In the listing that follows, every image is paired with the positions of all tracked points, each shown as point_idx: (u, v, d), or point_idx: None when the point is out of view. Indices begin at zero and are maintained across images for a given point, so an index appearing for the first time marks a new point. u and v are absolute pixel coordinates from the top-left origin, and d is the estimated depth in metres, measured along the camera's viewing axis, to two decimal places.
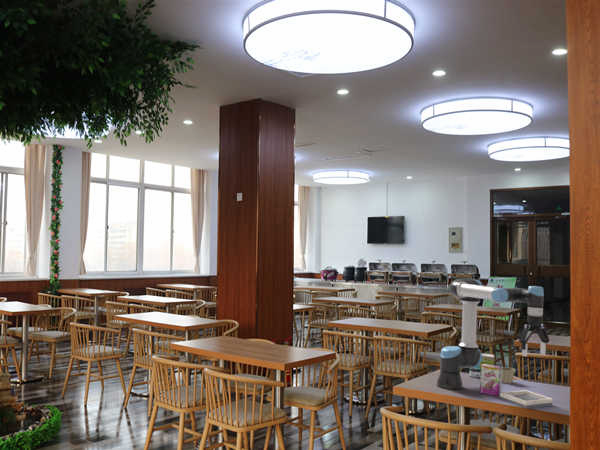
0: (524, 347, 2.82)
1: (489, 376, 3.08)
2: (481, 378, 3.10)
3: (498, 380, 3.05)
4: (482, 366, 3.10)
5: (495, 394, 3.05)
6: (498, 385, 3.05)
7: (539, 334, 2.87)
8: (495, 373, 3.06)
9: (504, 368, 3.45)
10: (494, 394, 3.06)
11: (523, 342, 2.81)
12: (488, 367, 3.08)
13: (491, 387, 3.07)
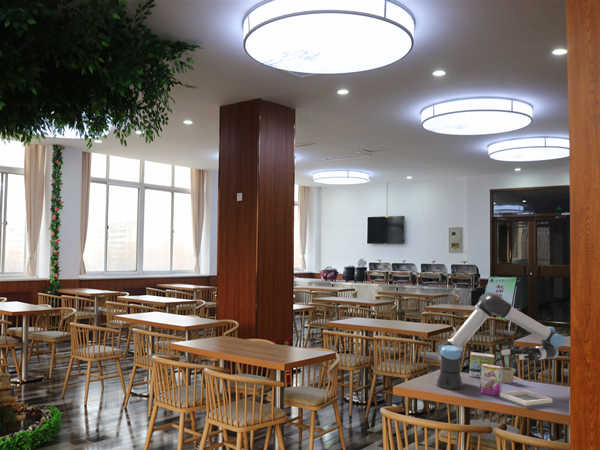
0: None
1: (489, 376, 3.08)
2: (481, 378, 3.10)
3: (498, 380, 3.05)
4: (482, 366, 3.10)
5: (495, 394, 3.05)
6: (498, 385, 3.05)
7: (519, 352, 3.24)
8: (495, 373, 3.06)
9: (504, 368, 3.45)
10: (494, 394, 3.06)
11: (532, 359, 3.11)
12: (488, 367, 3.08)
13: (491, 387, 3.07)
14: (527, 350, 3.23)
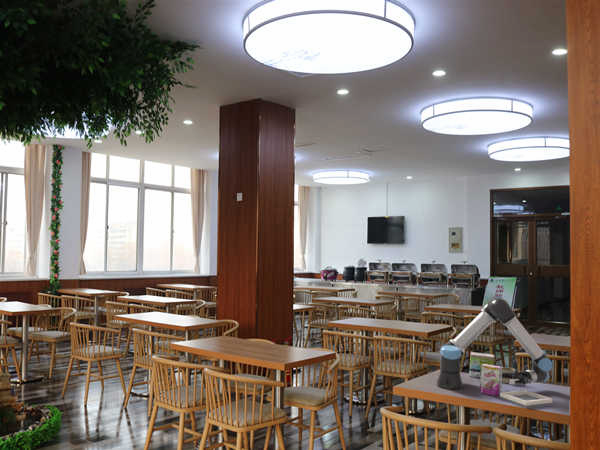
0: None
1: (489, 376, 3.08)
2: (481, 378, 3.10)
3: (498, 380, 3.05)
4: (482, 366, 3.10)
5: (495, 394, 3.05)
6: (498, 385, 3.05)
7: (509, 376, 3.20)
8: (495, 373, 3.06)
9: (504, 368, 3.45)
10: (494, 394, 3.06)
11: None
12: (488, 367, 3.08)
13: (491, 387, 3.07)
14: (518, 374, 3.19)
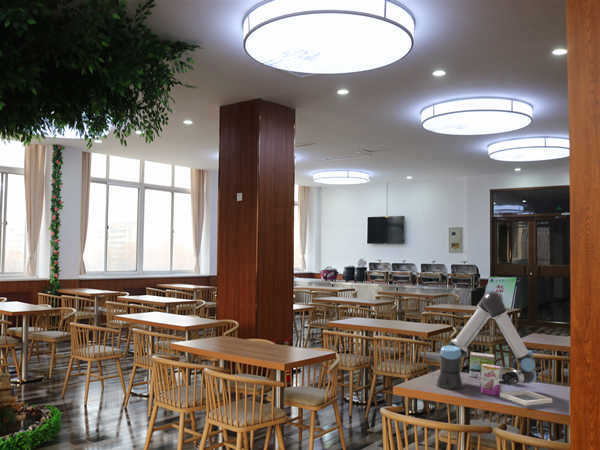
0: (501, 383, 3.03)
1: (489, 376, 3.08)
2: (481, 378, 3.10)
3: None
4: (482, 366, 3.10)
5: (495, 394, 3.05)
6: (498, 385, 3.05)
7: None
8: (495, 373, 3.06)
9: (504, 368, 3.45)
10: (494, 394, 3.06)
11: (507, 384, 3.03)
12: (488, 367, 3.08)
13: (491, 387, 3.07)
14: (504, 374, 3.15)
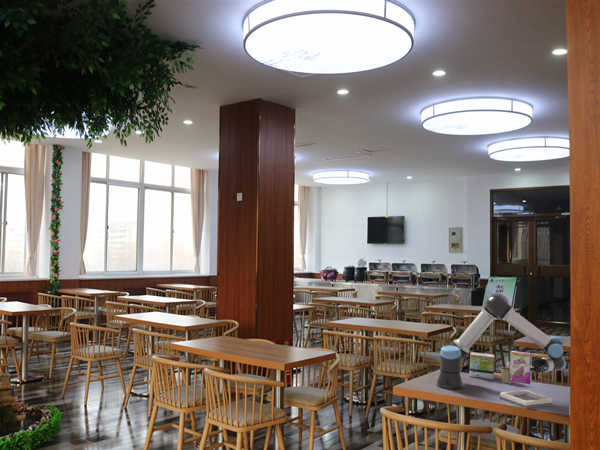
0: (532, 370, 2.93)
1: (519, 363, 2.98)
2: (510, 365, 3.00)
3: None
4: (511, 353, 3.00)
5: (525, 381, 2.96)
6: (528, 372, 2.95)
7: None
8: (525, 360, 2.96)
9: (504, 368, 3.45)
10: (525, 382, 2.96)
11: (538, 371, 2.93)
12: (518, 354, 2.98)
13: (521, 374, 2.97)
14: (534, 362, 3.05)
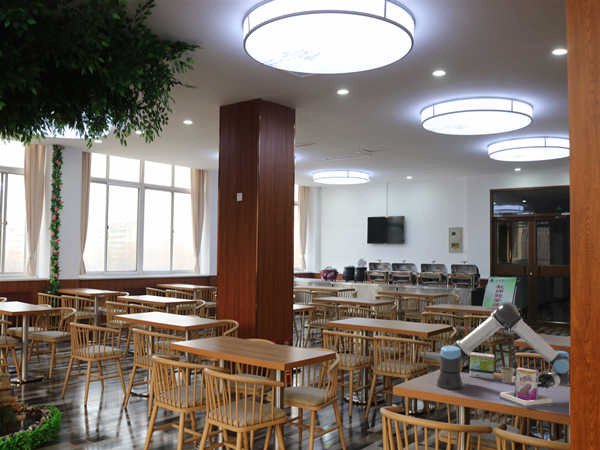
0: (539, 386, 2.90)
1: (525, 380, 2.95)
2: (516, 382, 2.97)
3: None
4: (517, 370, 2.97)
5: (531, 399, 2.92)
6: (535, 390, 2.92)
7: None
8: (531, 377, 2.93)
9: (504, 368, 3.45)
10: (531, 399, 2.93)
11: None
12: (524, 371, 2.95)
13: (527, 392, 2.94)
14: (539, 377, 3.02)
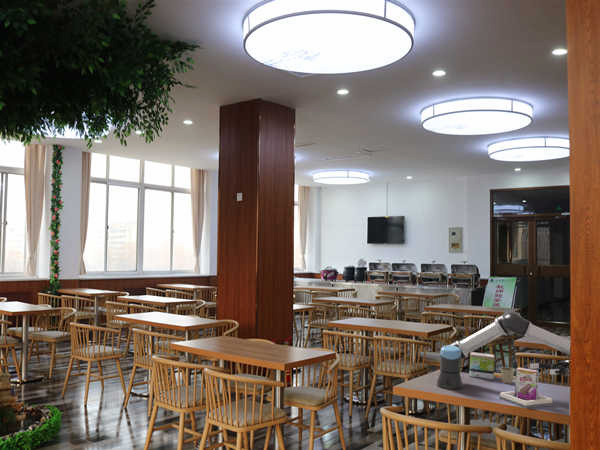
0: None
1: (525, 380, 2.95)
2: (516, 382, 2.97)
3: (535, 384, 2.92)
4: (517, 370, 2.97)
5: (531, 399, 2.92)
6: (535, 390, 2.92)
7: (548, 366, 3.09)
8: (531, 377, 2.93)
9: (504, 368, 3.45)
10: (531, 399, 2.93)
11: (563, 374, 2.96)
12: (524, 371, 2.95)
13: (527, 392, 2.94)
14: (557, 364, 3.08)
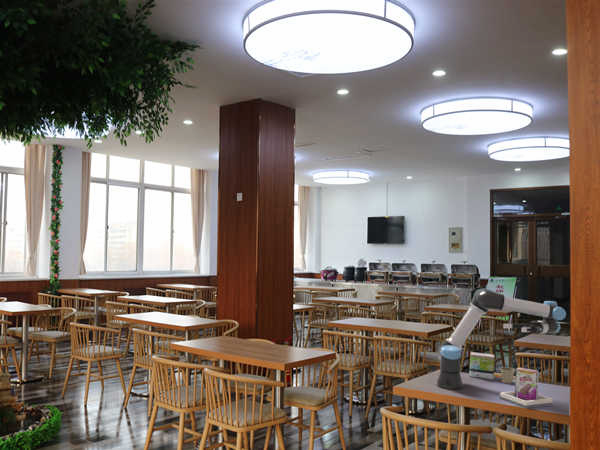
0: (529, 331, 3.11)
1: (525, 380, 2.95)
2: (516, 382, 2.97)
3: (535, 384, 2.92)
4: (517, 370, 2.97)
5: (531, 399, 2.92)
6: (535, 390, 2.92)
7: (521, 326, 3.24)
8: (531, 377, 2.93)
9: (504, 368, 3.45)
10: (531, 399, 2.93)
11: (534, 332, 3.11)
12: (524, 371, 2.95)
13: (527, 392, 2.94)
14: (529, 324, 3.23)
